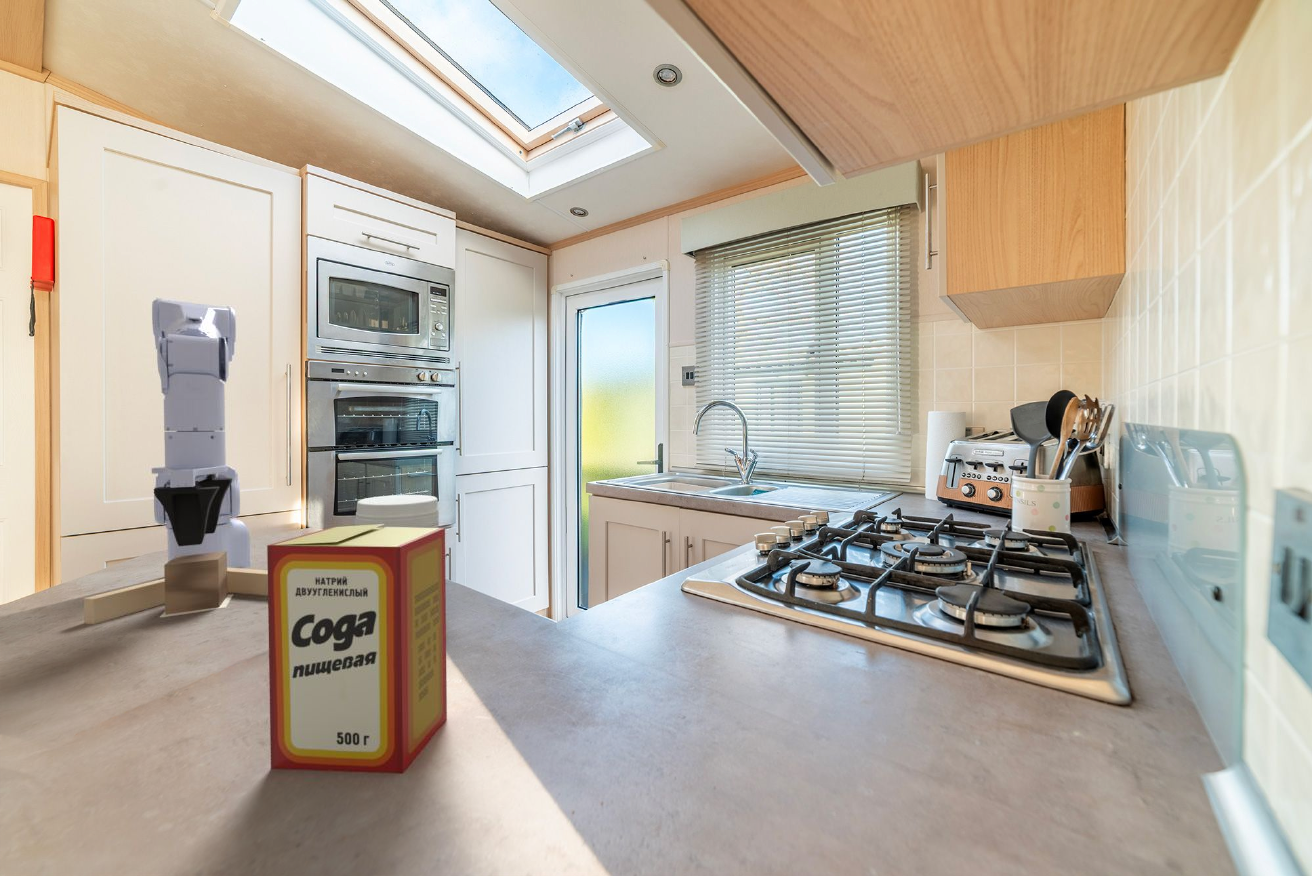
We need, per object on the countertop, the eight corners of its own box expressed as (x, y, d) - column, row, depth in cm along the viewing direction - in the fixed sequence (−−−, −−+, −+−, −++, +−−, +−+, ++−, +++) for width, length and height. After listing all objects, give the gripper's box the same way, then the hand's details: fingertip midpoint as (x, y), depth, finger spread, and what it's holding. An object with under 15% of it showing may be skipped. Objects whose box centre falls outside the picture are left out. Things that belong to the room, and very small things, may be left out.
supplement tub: (337, 621, 63) (335, 502, 63) (399, 597, 72) (398, 492, 72) (397, 631, 60) (396, 506, 60) (455, 605, 69) (454, 495, 68)
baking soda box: (446, 719, 42) (444, 523, 41) (403, 773, 35) (400, 541, 35) (334, 716, 42) (331, 522, 42) (270, 768, 36) (267, 540, 35)
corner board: (213, 595, 73) (213, 566, 73) (324, 605, 69) (324, 574, 68) (84, 634, 59) (83, 598, 59) (212, 650, 55) (212, 611, 55)
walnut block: (227, 595, 68) (226, 551, 68) (219, 607, 64) (218, 559, 64) (177, 602, 66) (176, 556, 66) (165, 614, 62) (164, 564, 61)
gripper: (168, 431, 69) (170, 532, 69) (132, 432, 56) (134, 555, 57) (236, 431, 72) (237, 527, 73) (215, 431, 60) (217, 547, 60)
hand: (197, 539), depth 65 cm, fingers open, 7 cm apart
